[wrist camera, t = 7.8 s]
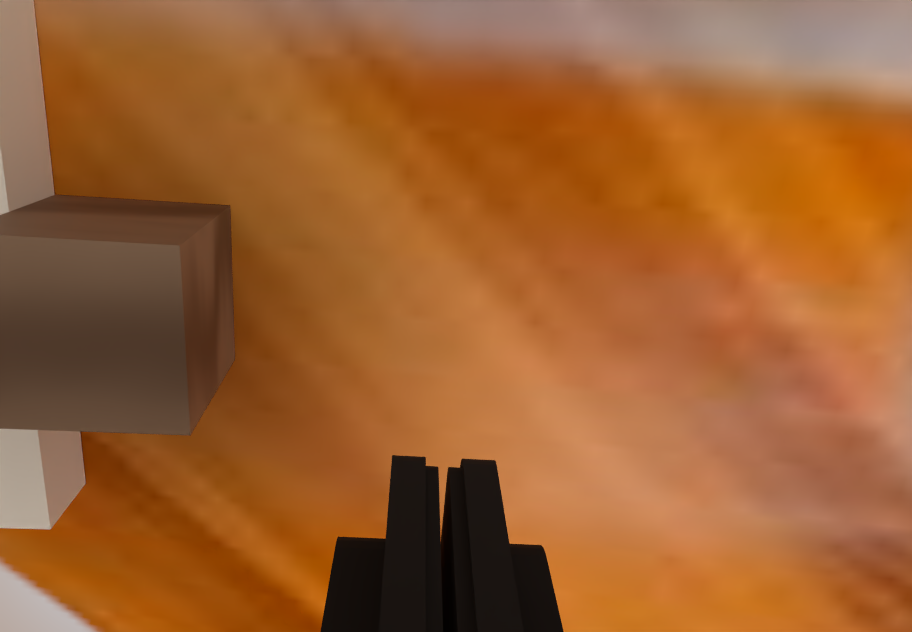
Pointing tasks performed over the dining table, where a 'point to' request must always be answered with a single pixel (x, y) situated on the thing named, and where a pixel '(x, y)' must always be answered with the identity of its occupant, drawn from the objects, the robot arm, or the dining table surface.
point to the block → (114, 314)
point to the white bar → (3, 190)
